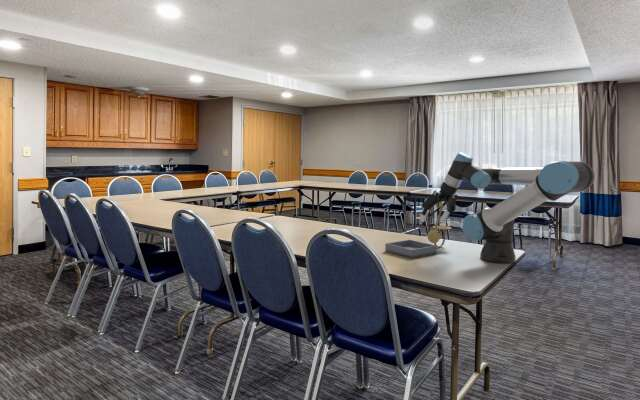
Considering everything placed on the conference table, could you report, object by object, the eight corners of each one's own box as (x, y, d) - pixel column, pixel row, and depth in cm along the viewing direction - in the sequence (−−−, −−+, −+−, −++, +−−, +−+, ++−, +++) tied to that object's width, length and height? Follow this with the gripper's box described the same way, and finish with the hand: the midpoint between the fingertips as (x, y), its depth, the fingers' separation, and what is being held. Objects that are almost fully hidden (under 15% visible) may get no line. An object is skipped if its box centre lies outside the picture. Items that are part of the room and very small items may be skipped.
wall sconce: (441, 251, 213) (443, 202, 210) (424, 248, 219) (426, 200, 216) (453, 247, 223) (455, 200, 220) (436, 244, 229) (438, 198, 227)
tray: (436, 253, 208) (437, 245, 208) (412, 258, 198) (412, 250, 197) (409, 247, 222) (409, 239, 222) (385, 251, 212) (385, 243, 211)
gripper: (464, 182, 211) (445, 218, 220) (426, 177, 198) (408, 215, 207) (474, 190, 205) (454, 226, 214) (436, 185, 193) (417, 224, 202)
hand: (431, 221), depth 211 cm, fingers open, 13 cm apart
